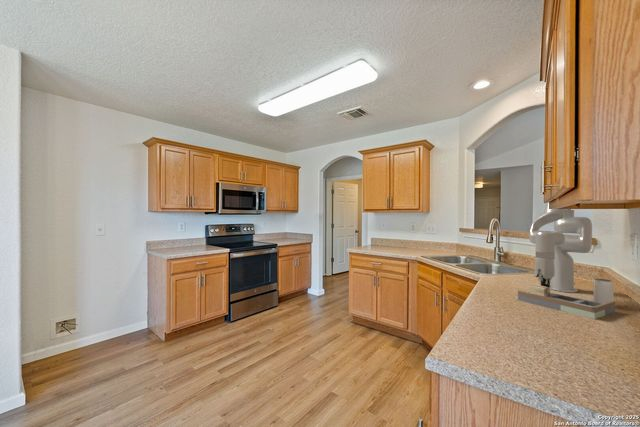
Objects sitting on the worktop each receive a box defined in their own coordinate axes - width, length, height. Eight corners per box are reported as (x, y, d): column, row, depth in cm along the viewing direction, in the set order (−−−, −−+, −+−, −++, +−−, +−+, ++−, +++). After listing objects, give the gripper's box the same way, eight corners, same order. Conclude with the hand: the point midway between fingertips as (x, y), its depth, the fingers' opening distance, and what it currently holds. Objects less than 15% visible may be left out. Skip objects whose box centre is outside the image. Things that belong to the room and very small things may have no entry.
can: (604, 303, 127) (604, 278, 127) (618, 307, 121) (617, 281, 121) (589, 302, 128) (589, 278, 128) (602, 307, 121) (602, 281, 122)
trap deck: (539, 295, 140) (539, 286, 141) (614, 311, 115) (614, 301, 115) (517, 299, 132) (517, 290, 132) (594, 319, 107) (594, 308, 107)
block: (536, 292, 137) (535, 284, 137) (550, 295, 131) (550, 287, 131) (529, 293, 134) (529, 285, 134) (543, 296, 128) (543, 288, 129)
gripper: (543, 254, 142) (544, 288, 141) (528, 255, 135) (528, 291, 135) (561, 255, 135) (561, 291, 135) (546, 257, 128) (546, 295, 128)
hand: (545, 291), depth 135 cm, fingers closed
